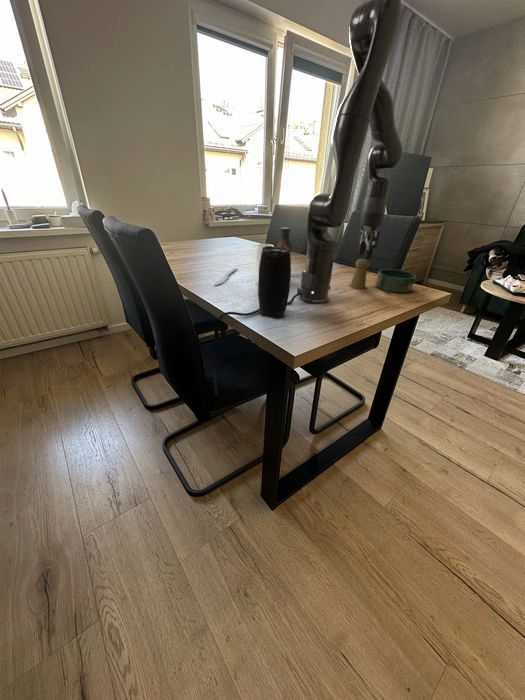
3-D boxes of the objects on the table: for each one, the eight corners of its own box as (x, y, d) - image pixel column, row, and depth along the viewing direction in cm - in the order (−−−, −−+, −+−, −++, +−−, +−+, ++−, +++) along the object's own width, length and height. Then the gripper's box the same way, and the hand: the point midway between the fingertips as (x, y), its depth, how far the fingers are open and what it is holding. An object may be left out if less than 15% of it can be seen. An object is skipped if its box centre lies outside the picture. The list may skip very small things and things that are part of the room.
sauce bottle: (292, 275, 128) (296, 227, 118) (287, 278, 123) (291, 229, 113) (278, 273, 130) (281, 226, 120) (273, 276, 125) (276, 228, 115)
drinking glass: (275, 283, 115) (277, 245, 108) (266, 287, 110) (268, 247, 103) (261, 280, 118) (262, 243, 111) (252, 284, 113) (253, 245, 106)
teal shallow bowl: (395, 295, 108) (399, 280, 105) (368, 285, 119) (371, 270, 116) (418, 291, 114) (423, 276, 111) (390, 281, 125) (394, 268, 122)
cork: (362, 289, 113) (368, 262, 107) (347, 286, 116) (353, 259, 110) (367, 286, 117) (373, 259, 111) (353, 283, 120) (358, 257, 114)
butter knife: (239, 268, 132) (232, 267, 133) (220, 285, 110) (212, 284, 110) (238, 269, 133) (232, 268, 133) (220, 286, 110) (212, 285, 110)
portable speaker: (253, 309, 90) (255, 245, 80) (280, 307, 93) (285, 245, 83) (263, 320, 83) (266, 251, 73) (291, 317, 86) (298, 250, 76)
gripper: (357, 209, 108) (349, 252, 116) (369, 212, 96) (360, 260, 104) (377, 209, 108) (367, 253, 117) (391, 213, 96) (380, 261, 104)
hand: (364, 256), depth 110 cm, fingers open, 8 cm apart
